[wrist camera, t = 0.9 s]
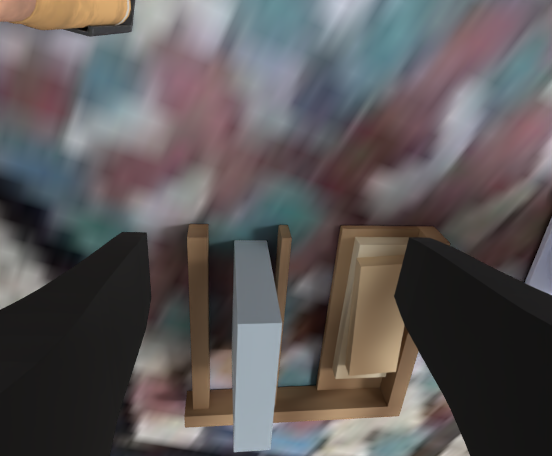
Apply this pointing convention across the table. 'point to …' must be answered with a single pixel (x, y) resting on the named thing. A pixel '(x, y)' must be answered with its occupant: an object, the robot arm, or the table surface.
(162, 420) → the table surface
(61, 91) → the table surface
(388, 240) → the offcut birch
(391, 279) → the offcut oak
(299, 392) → the rack
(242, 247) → the block
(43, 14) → the ammunition clip
